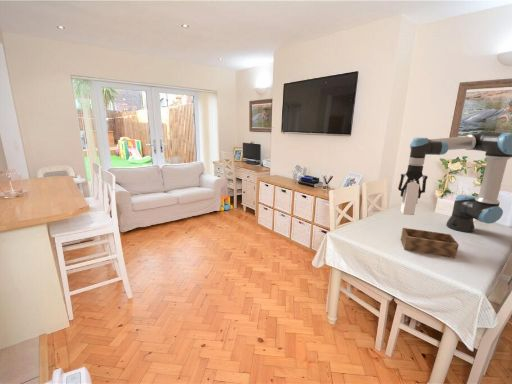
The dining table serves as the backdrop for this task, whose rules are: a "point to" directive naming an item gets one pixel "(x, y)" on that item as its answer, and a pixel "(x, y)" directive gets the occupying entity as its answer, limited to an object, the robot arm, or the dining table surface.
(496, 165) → the robot arm
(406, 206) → the milk
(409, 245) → the crate
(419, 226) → the dining table surface
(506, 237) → the dining table surface
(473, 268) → the dining table surface
